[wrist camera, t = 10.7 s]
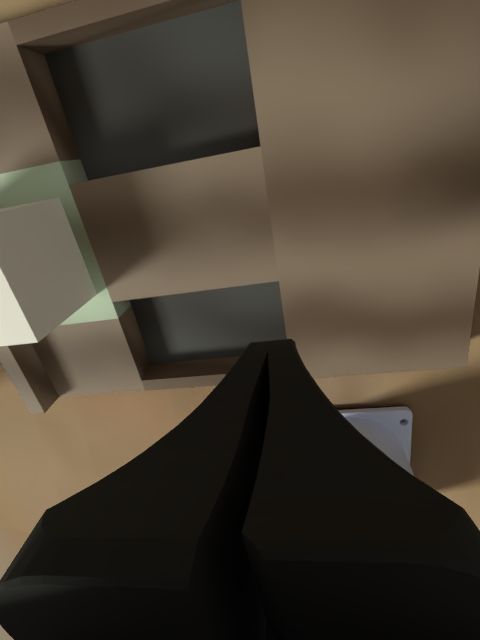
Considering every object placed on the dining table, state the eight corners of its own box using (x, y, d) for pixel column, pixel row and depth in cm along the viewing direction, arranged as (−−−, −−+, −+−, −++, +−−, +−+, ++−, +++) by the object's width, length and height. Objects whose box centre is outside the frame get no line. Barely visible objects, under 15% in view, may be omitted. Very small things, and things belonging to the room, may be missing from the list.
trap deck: (450, 346, 20) (480, 384, 17) (62, 379, 24) (30, 413, 21) (497, -99, 12) (572, -183, 9) (-89, 73, 16) (-176, 57, 13)
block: (96, 294, 18) (37, 342, 14) (16, 304, 19) (-63, 353, 15) (59, 197, 16) (-25, 218, 12) (-30, 214, 17) (-138, 239, 13)
